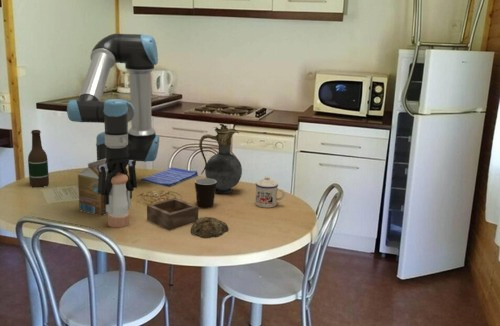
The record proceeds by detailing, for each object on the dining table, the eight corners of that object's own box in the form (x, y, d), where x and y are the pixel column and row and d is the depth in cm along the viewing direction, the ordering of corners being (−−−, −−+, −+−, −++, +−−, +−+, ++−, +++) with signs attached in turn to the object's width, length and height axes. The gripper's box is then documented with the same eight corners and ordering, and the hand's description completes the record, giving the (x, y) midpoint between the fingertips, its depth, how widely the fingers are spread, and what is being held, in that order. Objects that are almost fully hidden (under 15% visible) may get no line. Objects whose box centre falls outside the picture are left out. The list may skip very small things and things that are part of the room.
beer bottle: (36, 182, 210) (32, 128, 204) (52, 183, 210) (49, 129, 203) (25, 187, 203) (21, 131, 197) (43, 188, 202) (39, 132, 196)
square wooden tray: (147, 219, 174) (146, 205, 172) (175, 211, 183) (175, 197, 182) (169, 230, 165) (169, 215, 164) (198, 221, 175) (198, 206, 173)
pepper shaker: (132, 225, 168) (131, 172, 163) (112, 229, 164) (110, 175, 159) (125, 218, 174) (123, 167, 169) (105, 222, 170) (103, 169, 165)
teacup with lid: (252, 206, 192) (253, 178, 189) (257, 199, 201) (258, 172, 198) (281, 210, 190) (283, 182, 187) (285, 203, 198) (287, 175, 195)
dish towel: (199, 176, 232) (199, 170, 231) (169, 188, 212) (169, 182, 211) (170, 170, 240) (170, 165, 239) (139, 181, 219) (139, 176, 219)
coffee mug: (212, 210, 186) (213, 185, 184) (191, 207, 188) (191, 183, 185) (220, 200, 197) (221, 177, 195) (200, 198, 199) (200, 175, 196)
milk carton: (99, 202, 189) (97, 155, 184) (120, 207, 184) (119, 159, 180) (79, 210, 180) (77, 161, 175) (101, 216, 175) (99, 165, 170)
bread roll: (201, 222, 174) (201, 209, 173) (232, 228, 170) (232, 215, 169) (183, 234, 163) (183, 220, 162) (215, 241, 158) (216, 227, 157)
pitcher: (237, 197, 202) (239, 127, 195) (194, 192, 207) (195, 123, 199) (243, 189, 213) (246, 123, 205) (202, 185, 217) (204, 119, 209)
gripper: (96, 152, 152) (98, 220, 158) (147, 144, 167) (148, 206, 172) (84, 147, 157) (87, 213, 163) (134, 140, 171) (135, 201, 177)
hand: (118, 210), depth 168 cm, fingers closed on pepper shaker, 7 cm apart
